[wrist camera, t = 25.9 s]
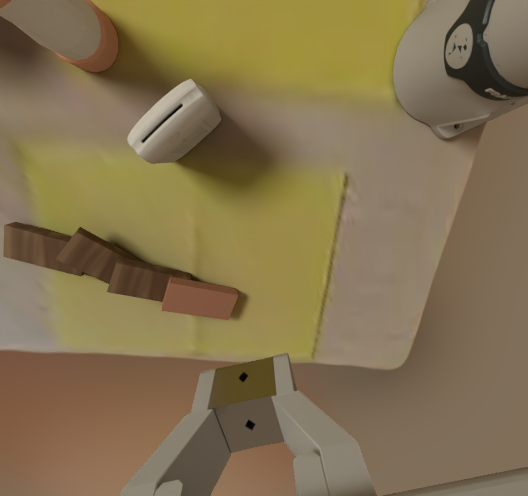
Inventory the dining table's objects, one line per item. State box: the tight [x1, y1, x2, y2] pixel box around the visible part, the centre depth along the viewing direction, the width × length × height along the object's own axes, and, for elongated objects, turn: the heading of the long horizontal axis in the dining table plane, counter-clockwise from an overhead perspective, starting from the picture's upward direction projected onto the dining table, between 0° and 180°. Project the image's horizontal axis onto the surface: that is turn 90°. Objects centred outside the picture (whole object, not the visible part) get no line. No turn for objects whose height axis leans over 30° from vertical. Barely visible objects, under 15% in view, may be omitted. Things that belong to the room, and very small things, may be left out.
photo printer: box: [128, 79, 222, 164], centre depth 33 cm, size 10×4×12 cm, turn 128°
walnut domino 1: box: [4, 222, 85, 276], centre depth 42 cm, size 2×5×11 cm
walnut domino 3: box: [107, 257, 191, 302], centre depth 43 cm, size 2×5×11 cm
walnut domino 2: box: [56, 227, 145, 284], centre depth 42 cm, size 2×5×11 cm
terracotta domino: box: [162, 276, 238, 320], centre depth 45 cm, size 2×5×11 cm
